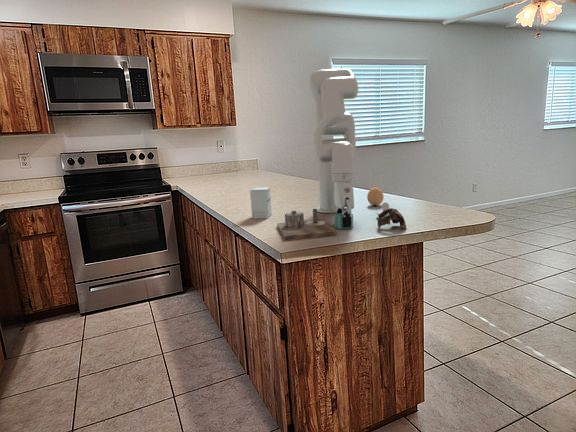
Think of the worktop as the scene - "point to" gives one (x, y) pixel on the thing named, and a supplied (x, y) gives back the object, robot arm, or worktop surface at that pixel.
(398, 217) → the brown arched figurine
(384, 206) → the pacifier
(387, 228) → the worktop surface
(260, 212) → the supplement box
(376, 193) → the egg
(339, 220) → the teal gear
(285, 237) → the gear board
